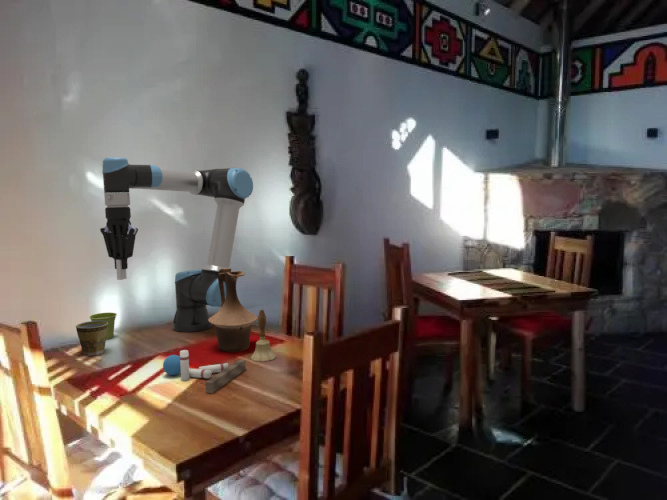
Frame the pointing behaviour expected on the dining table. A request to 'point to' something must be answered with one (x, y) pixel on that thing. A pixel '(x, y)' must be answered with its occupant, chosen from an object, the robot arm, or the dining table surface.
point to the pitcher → (232, 315)
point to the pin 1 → (184, 365)
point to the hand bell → (262, 343)
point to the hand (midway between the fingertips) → (121, 279)
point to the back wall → (225, 376)
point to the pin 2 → (215, 367)
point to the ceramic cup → (92, 337)
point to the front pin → (200, 373)
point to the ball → (172, 365)
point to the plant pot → (108, 318)
